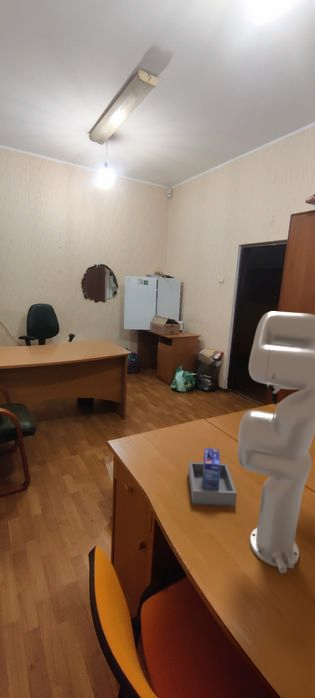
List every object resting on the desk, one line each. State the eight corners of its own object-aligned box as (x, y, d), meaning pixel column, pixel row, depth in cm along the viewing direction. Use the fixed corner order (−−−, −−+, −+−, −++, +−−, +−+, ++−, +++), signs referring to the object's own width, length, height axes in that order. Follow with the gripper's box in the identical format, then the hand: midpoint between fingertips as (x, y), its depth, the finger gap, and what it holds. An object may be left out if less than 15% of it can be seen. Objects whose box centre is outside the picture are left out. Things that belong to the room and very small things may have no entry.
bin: (235, 506, 97) (236, 493, 96) (192, 504, 98) (193, 491, 96) (225, 475, 113) (226, 463, 112) (188, 473, 113) (189, 462, 112)
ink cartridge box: (201, 477, 110) (204, 441, 107) (217, 479, 109) (220, 443, 106) (202, 495, 101) (205, 457, 97) (218, 498, 100) (222, 459, 97)
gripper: (314, 354, 105) (307, 400, 109) (265, 352, 105) (259, 398, 109) (326, 360, 98) (318, 409, 101) (272, 358, 98) (266, 406, 102)
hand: (287, 403), depth 105 cm, fingers open, 9 cm apart
